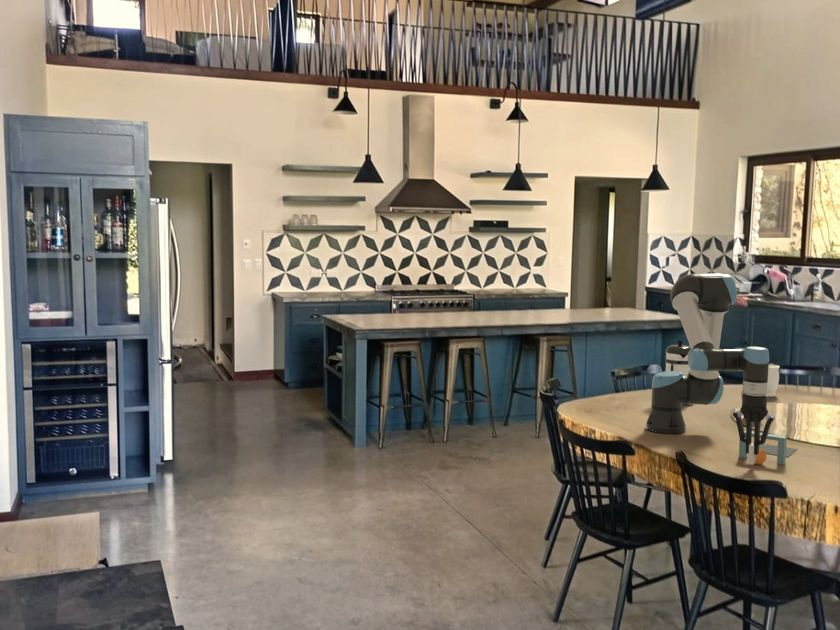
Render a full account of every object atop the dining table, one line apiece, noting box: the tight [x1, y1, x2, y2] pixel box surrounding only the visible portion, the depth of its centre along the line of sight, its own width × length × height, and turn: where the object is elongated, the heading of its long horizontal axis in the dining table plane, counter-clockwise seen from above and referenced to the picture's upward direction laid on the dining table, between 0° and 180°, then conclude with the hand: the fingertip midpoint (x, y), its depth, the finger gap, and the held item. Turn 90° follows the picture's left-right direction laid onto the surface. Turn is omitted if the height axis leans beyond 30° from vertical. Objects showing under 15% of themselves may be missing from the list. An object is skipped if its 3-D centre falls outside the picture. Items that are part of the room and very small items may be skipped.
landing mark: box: [759, 443, 798, 458], centre depth 278 cm, size 13×13×1 cm
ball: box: [753, 448, 767, 465], centre depth 260 cm, size 6×6×6 cm
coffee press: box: [664, 339, 694, 406], centre depth 359 cm, size 17×16×30 cm
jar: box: [765, 364, 781, 398], centre depth 378 cm, size 11×10×15 cm
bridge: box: [738, 429, 788, 466], centre depth 265 cm, size 14×3×9 cm, turn 52°
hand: (751, 463), depth 255 cm, fingers closed
